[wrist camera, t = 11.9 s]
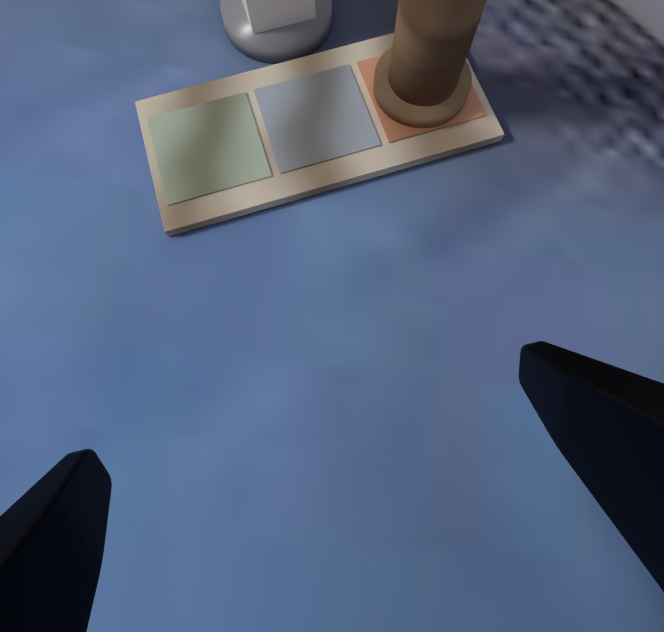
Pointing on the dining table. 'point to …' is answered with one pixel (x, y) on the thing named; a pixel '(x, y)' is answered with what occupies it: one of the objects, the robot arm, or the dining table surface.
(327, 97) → the board
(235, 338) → the dining table surface
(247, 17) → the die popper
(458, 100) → the pawn
